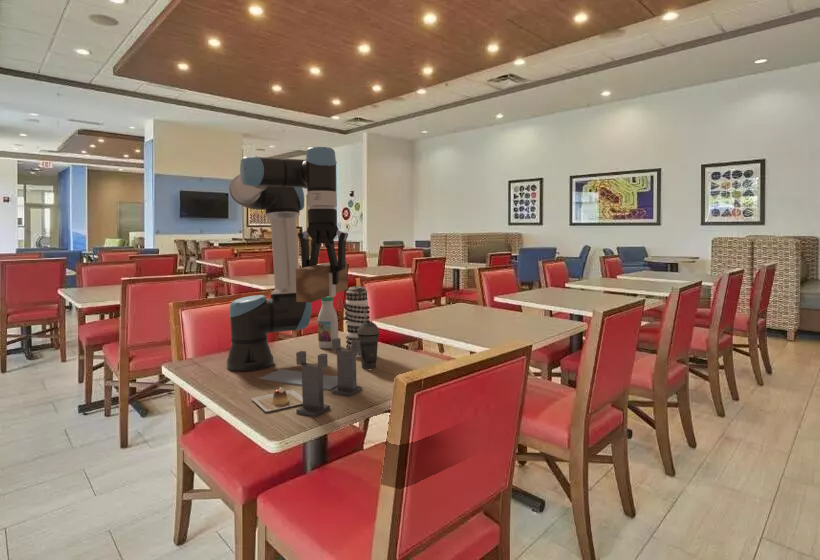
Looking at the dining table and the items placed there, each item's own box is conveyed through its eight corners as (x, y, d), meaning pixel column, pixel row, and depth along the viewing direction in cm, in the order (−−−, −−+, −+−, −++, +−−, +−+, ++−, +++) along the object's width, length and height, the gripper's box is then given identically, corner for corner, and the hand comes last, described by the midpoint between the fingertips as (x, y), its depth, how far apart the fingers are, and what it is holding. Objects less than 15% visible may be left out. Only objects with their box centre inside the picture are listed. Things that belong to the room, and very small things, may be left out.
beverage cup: (376, 371, 156) (375, 310, 154) (355, 370, 157) (353, 309, 155) (382, 365, 163) (381, 306, 161) (361, 364, 164) (360, 306, 162)
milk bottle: (331, 343, 195) (330, 294, 193) (342, 346, 189) (341, 296, 187) (314, 346, 190) (313, 296, 188) (325, 350, 184) (324, 298, 182)
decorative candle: (341, 353, 179) (340, 286, 176) (365, 350, 183) (363, 285, 180) (350, 359, 171) (348, 289, 168) (374, 356, 175) (373, 287, 172)
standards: (293, 412, 121) (291, 354, 120) (341, 386, 141) (339, 336, 140) (319, 417, 118) (317, 358, 116) (364, 390, 138) (363, 338, 136)
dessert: (251, 402, 131) (250, 385, 130) (293, 393, 138) (292, 376, 137) (265, 415, 121) (264, 397, 121) (310, 405, 128) (309, 388, 127)
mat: (259, 379, 149) (259, 377, 149) (281, 370, 158) (281, 369, 158) (330, 390, 138) (330, 388, 138) (349, 380, 147) (349, 378, 147)
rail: (296, 301, 118) (295, 269, 117) (334, 288, 141) (334, 261, 140) (311, 302, 117) (310, 269, 116) (347, 289, 140) (347, 261, 139)
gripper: (285, 208, 125) (288, 297, 128) (347, 207, 121) (349, 299, 124) (298, 208, 132) (301, 293, 135) (357, 208, 128) (359, 295, 131)
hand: (324, 296), depth 129 cm, fingers closed on rail, 4 cm apart
